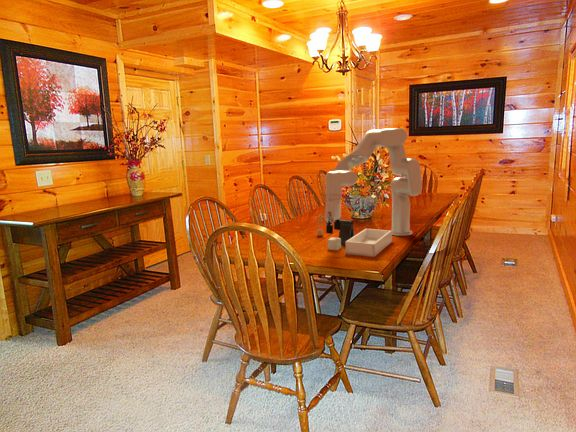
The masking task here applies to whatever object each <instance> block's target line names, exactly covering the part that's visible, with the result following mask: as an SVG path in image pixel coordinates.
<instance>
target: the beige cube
mask: <svg viewBox="0 0 576 432" xmlns="http://www.w3.org/2000/svg"><path fill="white" fill-rule="evenodd" d="M341 248H342V244H341V238H339V237H329V239H327V250H330V251H339V250H340V249H341Z"/></svg>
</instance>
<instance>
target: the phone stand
mask: <svg viewBox="0 0 576 432" xmlns="http://www.w3.org/2000/svg"><path fill="white" fill-rule="evenodd" d="M338 234H339V235H338V238H341V246H343V245H344V246H345V242H346V241H347V240H349V239H350V238H352V237H353V236H355V235H356V234H355V230H354V221H353V220H351V219H341V222H340V230H339V233H338Z"/></svg>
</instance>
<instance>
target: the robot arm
mask: <svg viewBox="0 0 576 432" xmlns="http://www.w3.org/2000/svg"><path fill="white" fill-rule="evenodd" d="M407 138H408V134H407V132H406V130H405V129H404V128H400V127H393V128H391V127H390V128H381V129H370V130H368V131H366V133H364V135H363V136H362V138H361V140H360V141H359V142H358V144H357V146H355V149H354V150H353V151H352V152H350V153H349V154H347V155H346V156H345V157H344V158H342V159H340V160H339V161H338V163H337V164H336V165H335V167H334V168H333V170H332V171H327V172H326V173H325V207H324V217H325V218H324V220H325V226H326V227H325V229H326V234H330V235H332V234H333V233H334V230H337V231H340V222H341V220H342V219H341V218H342V204H341V201H342V187H344V186H347V187H352V186H354V185H355V184H356V183H357V182H358V174H357V173H356V172H355V171H353V170H351V169H353V168H354V167H357V166H359V165H362V164H365V163H366V162H368V160H369V159H370V158H371V156H372V155H373V153H374V151H375V150H376V148H386V150H387V152H388V155H389V157H388V158H389V163H390V171H391V172H392V174H393V175H395V176H396V177H395V178H393V179H392V180H391V181H390V190H391V202H392V203H391V229H389V230H390V231H392V236H395V237H396V236H398V237H399V236H400V237H406V236H411V235H413V230H410V223H411V222H410V221H411V219H410V218H411V216H410V215H411V201H410V198H409V196H412V197H416V196H419V195H420V194H422V193H421V192H422V190H423V180H422V179H423V178H422V169H421V165H420V163H419V161H418V160H417V159H416V158H413V157H407V154H406V150H405V149H406V148H405V146H404V144H405V142H406V141H407Z"/></svg>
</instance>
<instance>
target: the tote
mask: <svg viewBox="0 0 576 432" xmlns="http://www.w3.org/2000/svg"><path fill="white" fill-rule="evenodd" d="M390 230H391V229H389V230H386V229H375V228H364V229H362V230H361V231H359V232H358V233H357V234H354V235H355V236H353V237H352V238H350V239H349V240H347V241H346V242H345V245H344V246H345V255H352V256H363V257H370V258H371V257H372V258H375V257H376V256H377V255H378V254H380V253H381V252H382V251H383V250H384V249H386V247H388V246H389V245H390V244H391V243H393V235H392V231H390Z"/></svg>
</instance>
